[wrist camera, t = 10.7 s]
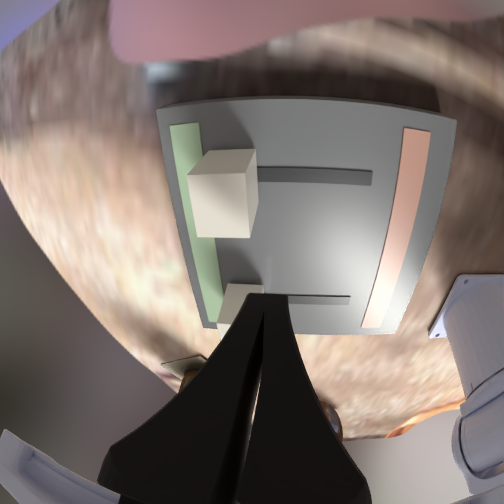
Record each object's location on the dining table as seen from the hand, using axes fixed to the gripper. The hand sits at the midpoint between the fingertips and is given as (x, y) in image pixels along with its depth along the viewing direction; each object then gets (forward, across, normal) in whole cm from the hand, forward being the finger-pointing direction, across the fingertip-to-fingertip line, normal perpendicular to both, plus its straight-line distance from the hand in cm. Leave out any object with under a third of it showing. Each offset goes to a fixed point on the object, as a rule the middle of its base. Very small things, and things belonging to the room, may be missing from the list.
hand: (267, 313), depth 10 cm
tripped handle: (+7, +2, -2) cm, 8 cm away
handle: (+7, +2, +7) cm, 10 cm away
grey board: (+9, -2, +2) cm, 10 cm away
